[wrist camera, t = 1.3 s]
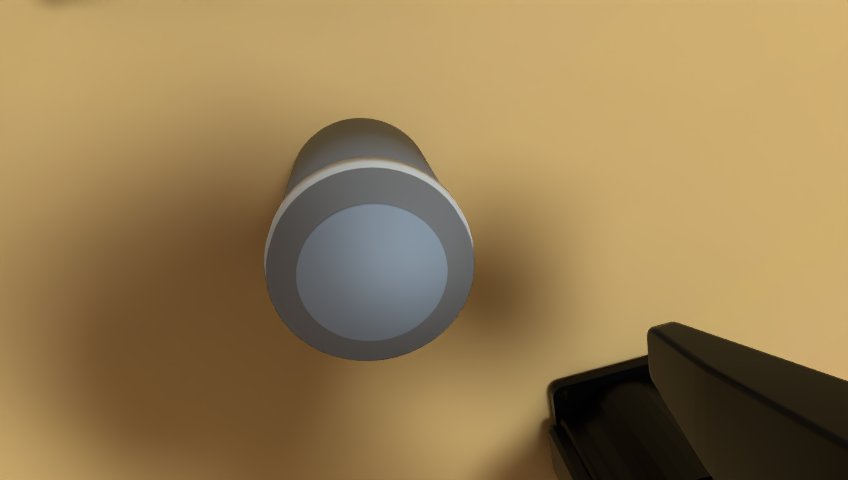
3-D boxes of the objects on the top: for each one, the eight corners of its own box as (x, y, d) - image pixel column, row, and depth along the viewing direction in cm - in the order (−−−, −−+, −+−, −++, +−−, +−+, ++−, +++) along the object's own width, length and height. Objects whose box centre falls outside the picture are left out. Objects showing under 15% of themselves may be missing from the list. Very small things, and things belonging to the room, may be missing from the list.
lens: (416, 99, 18) (459, 145, 12) (445, 235, 20) (494, 338, 14) (267, 134, 18) (227, 202, 11) (312, 268, 20) (298, 389, 14)
